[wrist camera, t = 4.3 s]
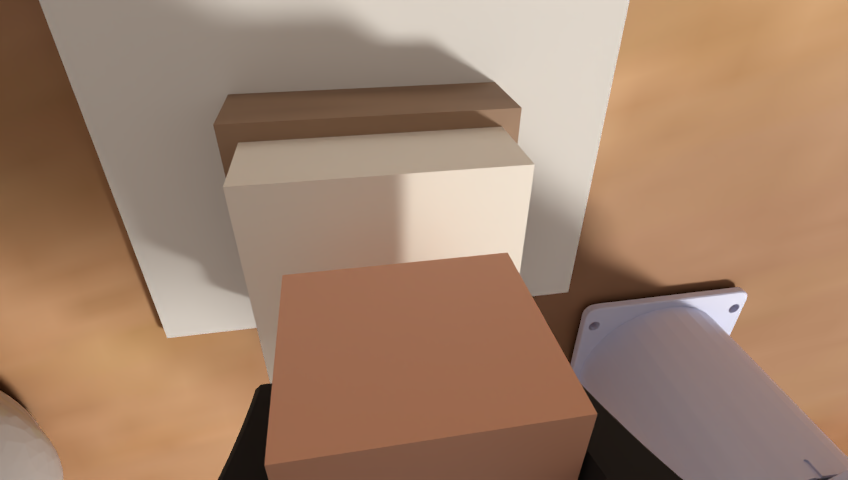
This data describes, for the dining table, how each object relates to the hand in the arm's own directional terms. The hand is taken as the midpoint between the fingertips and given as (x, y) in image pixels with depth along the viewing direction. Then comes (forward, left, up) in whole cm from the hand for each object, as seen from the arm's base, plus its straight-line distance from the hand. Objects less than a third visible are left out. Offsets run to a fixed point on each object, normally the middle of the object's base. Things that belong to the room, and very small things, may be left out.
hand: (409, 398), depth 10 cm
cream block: (0, 0, -6) cm, 6 cm away
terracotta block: (0, 0, -1) cm, 1 cm away
